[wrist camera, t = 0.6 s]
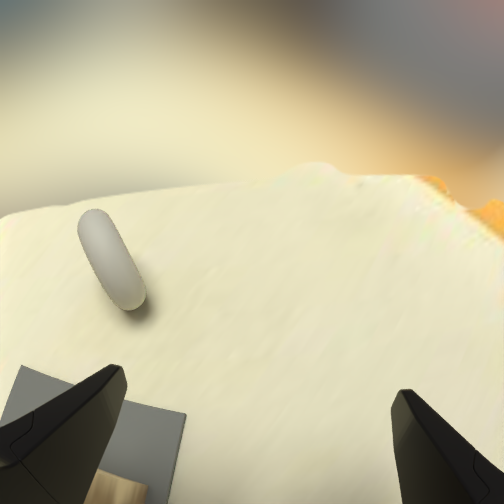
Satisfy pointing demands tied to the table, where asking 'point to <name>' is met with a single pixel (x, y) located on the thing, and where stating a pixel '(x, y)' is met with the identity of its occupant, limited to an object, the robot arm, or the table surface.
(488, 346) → the table surface
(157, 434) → the rubber mat
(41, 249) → the table surface
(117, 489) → the pine block
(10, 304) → the table surface
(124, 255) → the donut
